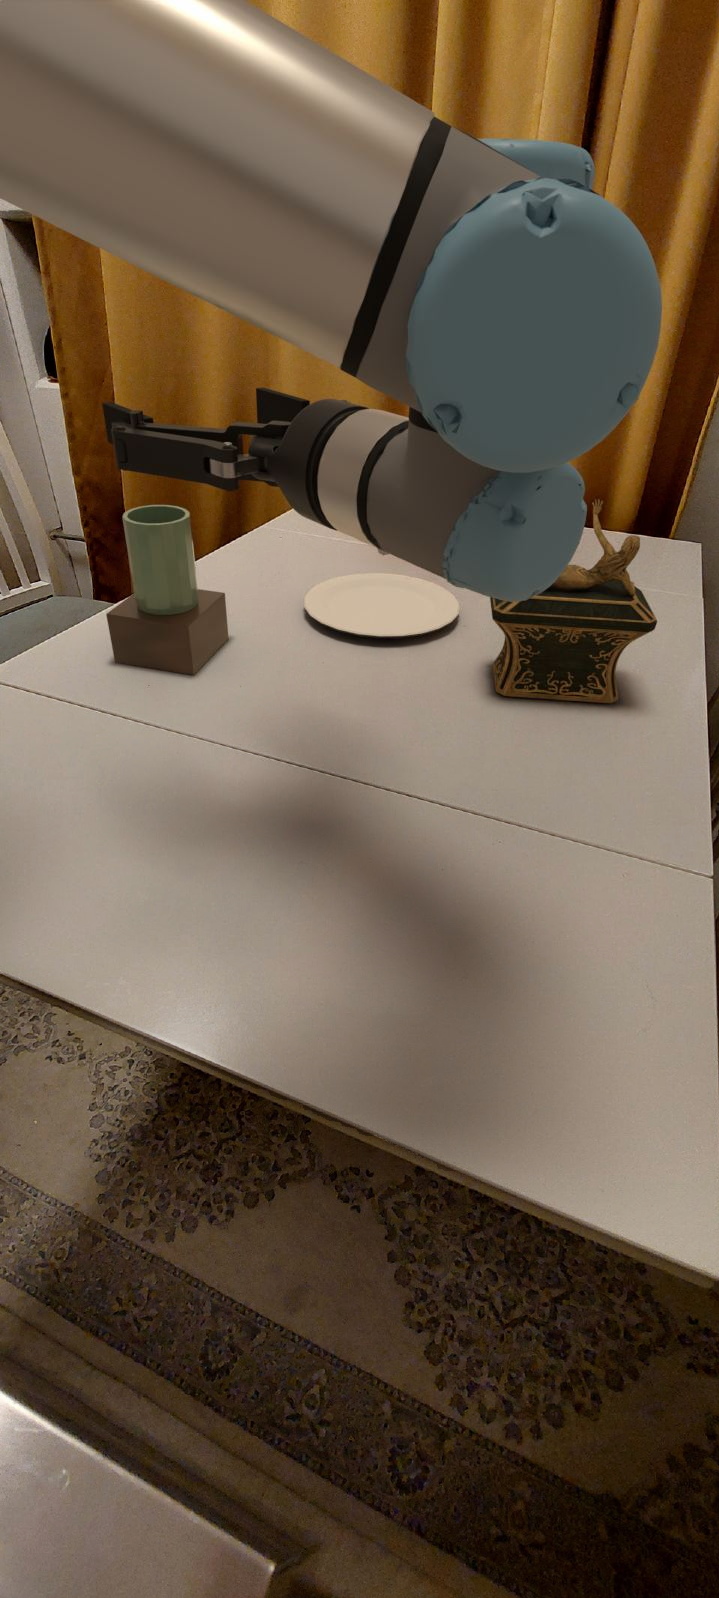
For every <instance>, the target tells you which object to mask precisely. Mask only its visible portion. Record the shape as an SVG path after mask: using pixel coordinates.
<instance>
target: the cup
mask: <svg viewBox="0 0 719 1598" xmlns="http://www.w3.org/2000/svg"><path fill="white" fill-rule="evenodd" d="M121 519H122V523H123V530H124V531H123V532H124V536H125V544H126V550H127V556H128V563H129V568H130V569H129V570H130V574H131V575H130V576H131V580H132V581H131V582H132V587H133V594H134V595H135V601H136V604H137V607H138V608H139V609H140V610H141V611H143V612H145V613H149V614H154V615H174V614H180V613H184V612H187V611H189V610H191V609H193V608H195V607H196V606H197V604H198V602H199V600H198V589H199V588H198V577H197V570H196V569H197V568H196V558H195V549H194V540H193V531H192V521H191V512H190V511H189V510H188V509H186V508H184V507H180V506H177V505H171V504H170V505H169V504H150V505H149V504H148V505H141V506H137V507H134V508H130V509H128V510H125V512H123V513H122V518H121Z"/></svg>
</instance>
